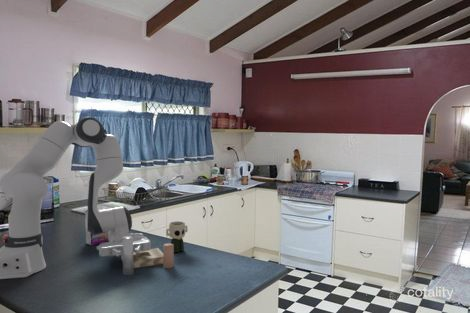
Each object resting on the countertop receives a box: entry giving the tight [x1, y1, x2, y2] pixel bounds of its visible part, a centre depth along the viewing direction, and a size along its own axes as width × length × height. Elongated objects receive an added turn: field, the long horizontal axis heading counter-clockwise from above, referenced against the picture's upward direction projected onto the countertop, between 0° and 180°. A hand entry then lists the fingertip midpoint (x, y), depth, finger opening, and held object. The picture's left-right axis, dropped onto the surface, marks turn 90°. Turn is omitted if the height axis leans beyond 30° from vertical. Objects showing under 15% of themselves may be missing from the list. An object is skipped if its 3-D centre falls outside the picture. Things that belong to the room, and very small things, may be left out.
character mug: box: [165, 221, 188, 253], centre depth 176 cm, size 11×7×13 cm, turn 129°
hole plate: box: [120, 247, 164, 269], centre depth 163 cm, size 16×12×3 cm
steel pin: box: [122, 236, 135, 276], centre depth 150 cm, size 4×4×14 cm
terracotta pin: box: [163, 242, 175, 269], centre depth 157 cm, size 4×4×9 cm
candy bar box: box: [84, 206, 110, 246], centre depth 189 cm, size 11×5×16 cm, turn 143°
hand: (128, 252), depth 149 cm, fingers open, 6 cm apart
